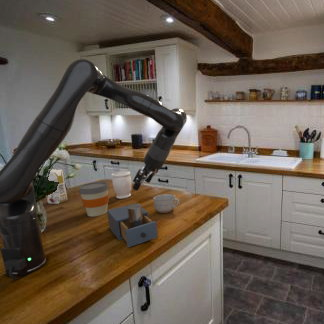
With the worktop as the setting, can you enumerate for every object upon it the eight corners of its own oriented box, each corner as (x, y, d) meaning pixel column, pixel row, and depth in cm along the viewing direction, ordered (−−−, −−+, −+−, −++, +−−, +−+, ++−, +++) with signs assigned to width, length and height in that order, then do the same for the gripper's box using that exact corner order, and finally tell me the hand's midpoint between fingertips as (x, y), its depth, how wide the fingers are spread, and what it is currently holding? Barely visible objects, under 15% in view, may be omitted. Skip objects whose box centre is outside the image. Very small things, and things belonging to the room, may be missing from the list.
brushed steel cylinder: (140, 237, 99) (137, 209, 96) (128, 236, 99) (124, 208, 96) (146, 230, 104) (143, 204, 101) (134, 230, 104) (131, 204, 101)
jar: (114, 195, 155) (112, 172, 152) (133, 192, 159) (130, 170, 156) (113, 200, 145) (110, 176, 142) (132, 197, 149) (130, 174, 146)
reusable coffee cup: (113, 206, 136) (109, 180, 133) (109, 215, 124) (105, 187, 121) (86, 210, 131) (82, 183, 128) (80, 219, 120) (75, 190, 117)
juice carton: (58, 204, 139) (52, 172, 136) (45, 203, 141) (39, 171, 137) (69, 200, 147) (64, 169, 143) (57, 199, 148) (52, 168, 144)
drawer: (158, 238, 100) (157, 222, 98) (129, 248, 92) (127, 232, 91) (145, 226, 110) (144, 212, 109) (117, 234, 103) (115, 219, 101)
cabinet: (149, 230, 109) (148, 212, 107) (118, 240, 100) (116, 220, 98) (138, 219, 119) (136, 203, 117) (109, 228, 111) (107, 210, 109)
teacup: (150, 212, 127) (148, 198, 126) (166, 205, 137) (164, 191, 135) (169, 217, 121) (168, 202, 119) (185, 210, 130) (184, 195, 129)
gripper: (158, 145, 103) (143, 174, 108) (138, 153, 89) (122, 186, 95) (173, 155, 103) (157, 184, 108) (156, 165, 90) (138, 197, 95)
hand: (141, 185), depth 101 cm, fingers open, 8 cm apart
